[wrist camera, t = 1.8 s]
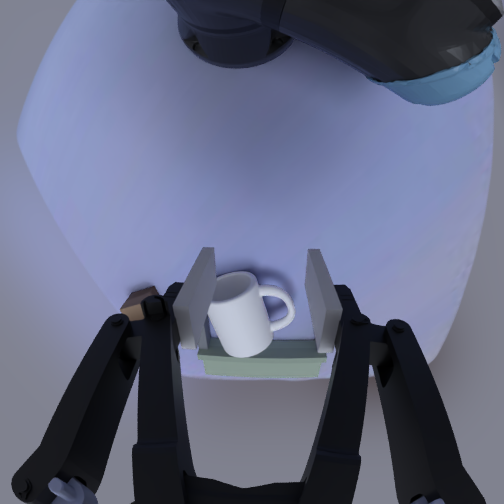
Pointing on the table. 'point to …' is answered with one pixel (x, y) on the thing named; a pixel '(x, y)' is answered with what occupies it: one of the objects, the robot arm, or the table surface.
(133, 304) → the walnut block
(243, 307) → the mug
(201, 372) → the table surface
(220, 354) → the green holder tray
